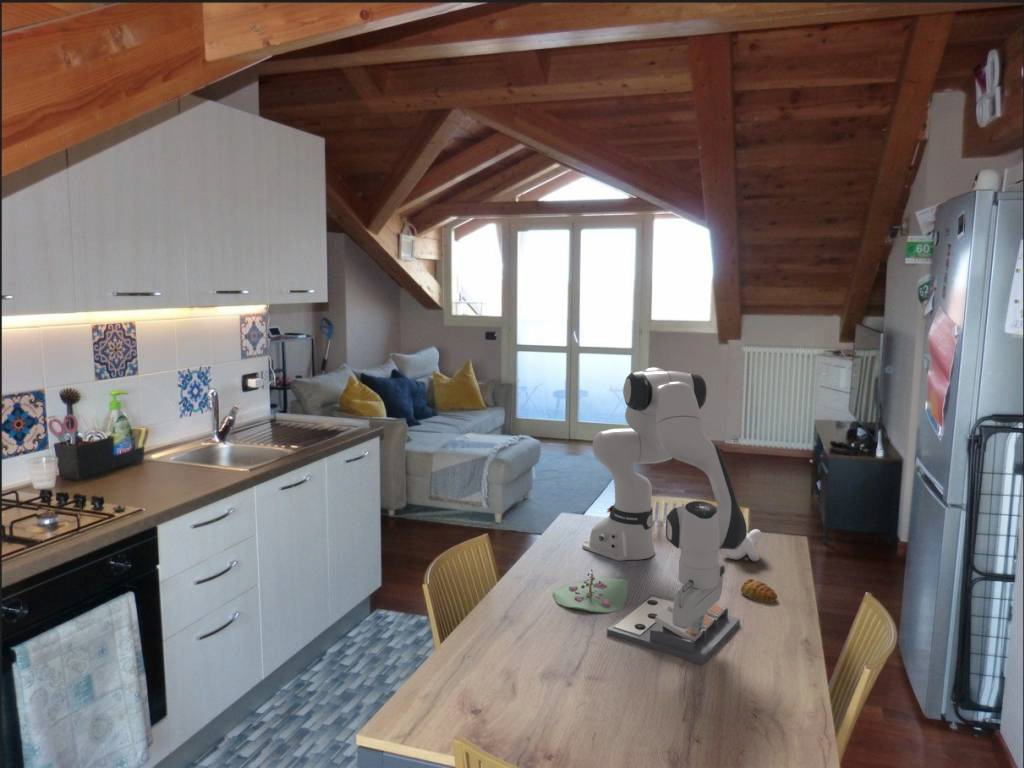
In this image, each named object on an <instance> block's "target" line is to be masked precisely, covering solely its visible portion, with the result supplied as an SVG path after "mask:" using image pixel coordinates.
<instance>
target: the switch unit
mask: <svg viewBox="0 0 1024 768" xmlns="http://www.w3.org/2000/svg"><path fill="white" fill-rule="evenodd" d="M673 602H674V600H673V599H669V598H665V597H662V596H658V595H654V594H650V595H648V597H645V599H644V600H642V601H641V602H640V603H638V604H637V605H636V606H635V607H633V608H632V609H631V610H629V611H628V612H627V613H626V614H624V615H623V616H622V617H621V618H619V619H618V620H616V622H614V623H613V624H611V625H610V626H609V627H608V628H607V629H606V635H607V636H609V637H613V638H616V639H619V640H623V641H625V642H629V643H631V644H635V645H638V646H640V647H644V648H648V649H651V650H653V651H656V652H660V653H663V654H666V655H669V656H673V657H675V658H679V659H681V660H685V661H688V662H691V663H694V664H698V665H700V666H703V665H704V664H705V663H706V661H708V660H709V658H710V657H711V656H712V655H713V654H714V653H715V652H716V651H717V650H718V648H719V647H721V645H722V644H723V643H724V642H725V641H726V640H727V639H728V638H729V637H730V635H732V634H733V632H734V631H736V629H737V628H738V627H739V626H740V623H741V618H738V617H735V616H732V615H729V607H725V606H721V605H720V606H721V607H723V608H724V609H725V610H724V613H723V614H722V615H721V616H720V617H719V618H718V619H717V618H714V617H711V618H713V619H714V622H713V624H712V625H711V626H710V627H709V628H708V629H707V630H706V629H702V630H703V632H702V635H701V636H700V637H699V638H698V639H697V640H696V641H691V640H688V639H685V638H683V637H681V636H679V635H678V634H676V633H674V632H672V631H671V630H669V629H667V628H666V627H664V626H662V625H661V624H659V623H657V622H656V621H654V620H655V617H656V616H657V615H658V614H659V613H661V612H662V611H663V610H664V609H666V610H667V609H668V606H669V605H670V604H671V603H673ZM709 617H710V616H709Z"/></svg>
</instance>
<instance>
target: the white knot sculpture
mask: <svg viewBox="0 0 1024 768" xmlns="http://www.w3.org/2000/svg"><path fill="white" fill-rule="evenodd" d="M761 538H762V532H761V530H760V529H757V528H755V529H752V530H751V531H749V532H747V534H746V538H745V540H744V541H743V542H742V543H741V544H740V545H739V546H738V547H736V548H735V549H733V550H732V549H722V551H723V554H724V555H725V556H726V557H727V558H729V559H730V560H733V559H734V560H735V561H738V560H741V559H743V558H744V557H745V556H748V559H750V561H752V562H758V561H759V560H760V553H759V551H758V549H757V548H756V546H757V544H758V543H759V541H760V540H761Z"/></svg>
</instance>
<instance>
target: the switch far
mask: <svg viewBox="0 0 1024 768" xmlns="http://www.w3.org/2000/svg"><path fill="white" fill-rule="evenodd" d="M723 607H724V606H722V607H721V605H718V604H717V603H715V604H714V605H713V606H712V607H711V608H710V609H708V610H707V611H706V615H707V616H710V617H714V618H717V619H718V618H719V617H720V616H721V615H722V614H723V613H724V610H725V609H724V608H723Z"/></svg>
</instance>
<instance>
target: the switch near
mask: <svg viewBox="0 0 1024 768" xmlns="http://www.w3.org/2000/svg"><path fill="white" fill-rule="evenodd" d="M672 619H673V613H671V612H670V611H668V610H666V609H664V610H663V611H662V612H661V613H659V614H658V615H657V616H656V617H655V620H654V621H656V622H657V623H659V624H661V625H662V626H664V627H666V628H667V629H669V630H671V631H672V632H674V633H676V634H678V635H679V636H681V637H683V638H685V639H688V640H691V641H696V640H697V639H698V638H699V637H700V636H701V635H702V632H703V630H701V631H700V632H699V633H698V634H693V633H691V631H690V627H689V628H688V629H684V628H680V627H677V626H675V625H674V624H673V621H672Z"/></svg>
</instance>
